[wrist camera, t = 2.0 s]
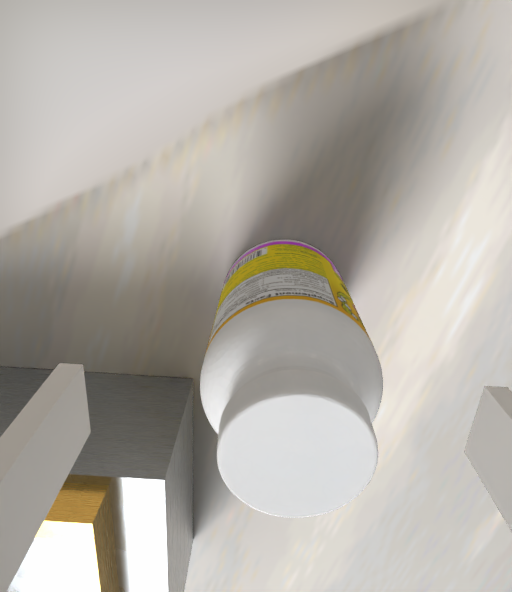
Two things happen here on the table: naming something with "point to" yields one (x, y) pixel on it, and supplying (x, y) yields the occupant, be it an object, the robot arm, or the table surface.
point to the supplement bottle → (291, 383)
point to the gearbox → (115, 488)
